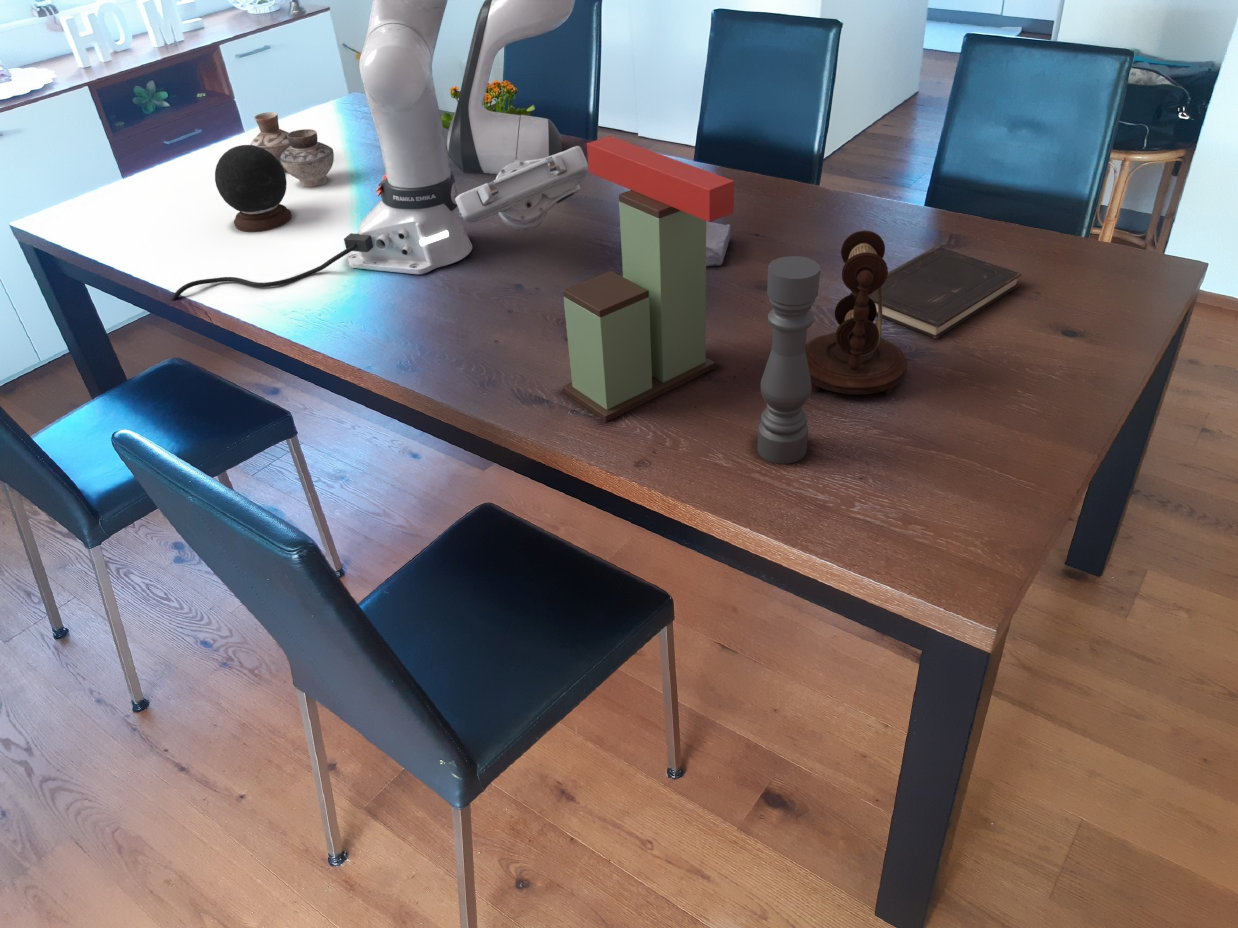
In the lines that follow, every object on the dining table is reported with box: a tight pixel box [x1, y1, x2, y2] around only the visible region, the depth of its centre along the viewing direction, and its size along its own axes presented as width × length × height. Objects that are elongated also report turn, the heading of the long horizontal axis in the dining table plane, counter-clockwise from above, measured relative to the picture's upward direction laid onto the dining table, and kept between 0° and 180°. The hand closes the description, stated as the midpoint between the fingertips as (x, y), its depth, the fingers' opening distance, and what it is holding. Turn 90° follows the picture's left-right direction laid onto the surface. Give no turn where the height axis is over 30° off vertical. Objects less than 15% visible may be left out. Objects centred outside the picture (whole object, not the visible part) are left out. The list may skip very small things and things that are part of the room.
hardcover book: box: [849, 245, 1023, 340], centre depth 145 cm, size 16×23×2 cm
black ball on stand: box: [214, 144, 293, 233], centre depth 181 cm, size 13×13×15 cm
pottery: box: [250, 111, 335, 188], centre depth 202 cm, size 11×25×12 cm, turn 47°
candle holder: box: [756, 255, 821, 465], centre depth 108 cm, size 6×6×25 cm
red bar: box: [586, 135, 735, 223], centre depth 116 cm, size 24×4×4 cm, turn 38°
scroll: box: [805, 230, 908, 396], centre depth 122 cm, size 15×15×20 cm
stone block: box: [706, 221, 731, 267], centre depth 162 cm, size 12×5×10 cm
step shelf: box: [562, 189, 716, 423], centre depth 122 cm, size 10×20×26 cm, turn 128°
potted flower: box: [440, 79, 536, 153], centre depth 198 cm, size 25×24×18 cm
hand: (521, 175), depth 129 cm, fingers open, 8 cm apart
